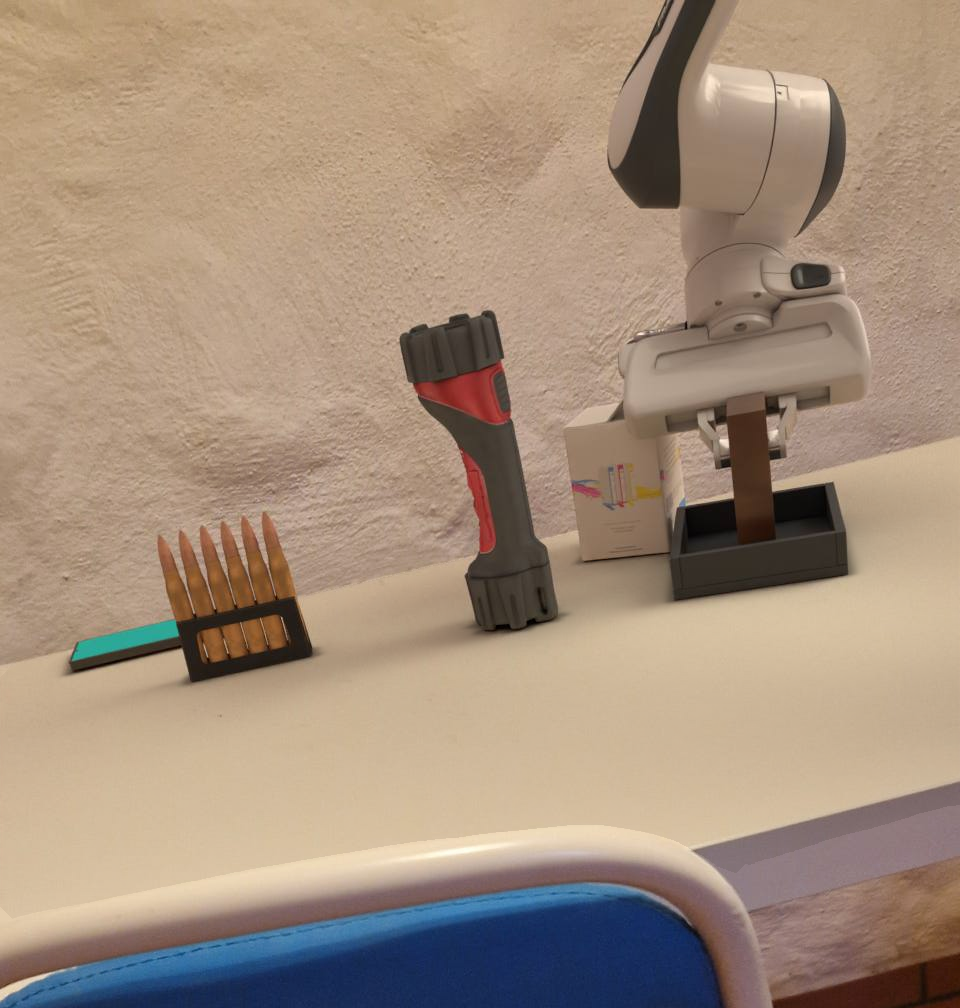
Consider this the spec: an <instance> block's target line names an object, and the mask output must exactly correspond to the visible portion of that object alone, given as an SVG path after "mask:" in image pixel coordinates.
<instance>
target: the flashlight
mask: <svg viewBox="0 0 960 1008" xmlns="http://www.w3.org/2000/svg"><path fill="white" fill-rule="evenodd" d="M398 341H399V346H400V352H401V356H402V361H403V366H404V370H405V374H406V380H407V382H408V383H410V384H412V387H413V389H414V392H415V393H416V394H417V400H418V402H419V403H420V404H421V407H423V409H424V410H425V411H426V412H427V413H428V414H429V415H430V416H431V417H432V418H433V419H434V420H436V421H437V422H438V423H439V424H440V425H442V426H443V427H444V428H445V429H446V430H447V431H448V433H449V434H450V435H451V437H452V438H453V440H454V441H455V443H456V445H457V448H458V450H459V454H460V456H461V462H462V463H463V466H464V469H465V473H466V482H467V487H468V488H469V490H470V491H471V494H472V497H473V503H472V507H473V509H474V511H475V513H476V516H477V518H478V520H479V521H478V526H479V533H478V534H479V537H478V541H479V547H478V553H477V555H476V557H475V558H474V559H473V560H472V561H471V562H470V563H469V564H468V567H467V572H466V573H464V579H465V583H466V587H467V591H468V594H469V598H470V601H471V602H470V603H471V606H472V610H473V615H474V619H475V623H477V624H478V625H480V627H481V628H482V629H483V630H485V631H495V630H496V629H497V625H509V626H510V628H511V629H512V630H517V629H522V628H525V627H527V622H528V621H530V620H533V619H534V620H535V622H536V623H541V622H547V621H551V620H554V618H556V617H557V616H558V614H559V608H558V607H559V606H558V601H557V597H556V591H555V585H554V578H553V572H552V567H551V566H552V565H551V561H550V556H549V550H548V547H547V546H546V544H544V543H543V542H542V541H541V540H539V539H538V537H536V533H535V528H534V523H533V517H532V513H531V507H530V502H529V496H528V491H527V485H526V480H525V475H524V469H523V465H522V460H521V459H522V458H521V454H520V453H521V452H520V449H519V445H518V439H517V434H516V430H515V424H514V421H513V419H512V418H511V417H512V406H511V405H512V402H511V396H510V394H509V393H510V392H509V386H508V381H507V376H506V373H505V369H504V367H503V363H502V360H503V359H504V360H505V353H504V348H503V344H502V338H501V333H500V328H499V323H498V320H497V316H496V313H495V312H494V311H493V310H489V309H485V310H482V311H481V313H480V314H479V315H476V316H474V317H470V315H469V314H468V313H466V312H463V313H459V314H455V315H450V316H449V317H448V322H446V323H443V324H438V325H434V326H432V327H429V326H428V324H427V323H421V324H418V325H415V326H413V327H411V328H410V329H409V330H408V332H407V331H405V332H403V333H401V334H400V336H399V340H398Z"/></svg>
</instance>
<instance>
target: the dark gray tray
mask: <svg viewBox="0 0 960 1008" xmlns="http://www.w3.org/2000/svg"><path fill="white" fill-rule="evenodd" d="M772 494H773V507H774V519H775V532H776V540H771V541H765V542H759V543H752V544H746V545H738V535H737V524H736V514H735V503H734V497H732V498H726V499H719V500H714V501H713V500H712V501H707V502H700V503H694V504H689V505H686V507H685V506H683V507H677V509H676V516H675V524H674V531H673V538H672V546H671V551H670V552H669V553H670V554H669V567H670V575H671V576H670V577H671V584H672V594H673V600H674V601H678V600H685V599H693V598H698V597H704V596H710V595H711V596H712V595H718V594H724V593H731V592H738V591H744V590H751V589H758V588H764V587H771V586H778V585H784V584H793V583H797V582H804V581H805V582H807V581H812V580H819V579H825V578H831V577H833V578H834V577H839V576H845V575H849V562H848V561H849V559H848V558H849V557H848V542H847V541H848V537H847V530H846V525H845V523H844V518H843V514H842V510H841V506H840V501H839V498H838V494H837V490H836V486H835V482H834V481H828V482H825V483H823V482H822V483H816V484H810V485H804V486H798V487H794V488H793V487H792V488H785V489H780V490H774V491H773V490H772Z"/></svg>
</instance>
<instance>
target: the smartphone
mask: <svg viewBox="0 0 960 1008" xmlns="http://www.w3.org/2000/svg"><path fill="white" fill-rule="evenodd" d="M220 630H221V633H222V636H223V632H222V629H221V627H220ZM199 633H200V636H201V639H202V641H203V638H202V635H201V631H200V632H199ZM178 646H182V645H181V641H180V637H179V633H178V630H177V626H176V621H175V618H173V619H169V620H164V621H161V622H156V623H152V624H147V625H143V626H139V627H135V628H130V629H126V630H121V631H118V632H113V633H109V634H104V635H101V636H96V637H91V638H88V639H84V640H79V641H77V642H76V643H75V645H74V648H73V650H72V652H71V655H70V658H69V660H68V664H69V667H70V669H71V671H75V670H76V671H77V670H80V669H84V668H89V667H93V666H97V665H101V664H105V663H109V662H114V661H119V660H123V659H127V658H131V657H135V656H141V655H144V654H148V653H152V652H158V651H162V650H166V649H170V648H174V647H178Z"/></svg>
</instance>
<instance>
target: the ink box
mask: <svg viewBox="0 0 960 1008" xmlns="http://www.w3.org/2000/svg"><path fill="white" fill-rule="evenodd" d="M562 431H563V435H564V436H563V437H564V444H565V449H566V458H567V464H568V471H569V477H570V482H571V483H570V484H571V490H572V498H573V505H574V511H575V518H576V519H575V520H576V527H577V532H578V540H579V546H580V553H581V560H582V561H583V562H587V561H594V560H603V559H614V558H625V557H632V556H633V557H634V556H644V555H652V554H663V553H671V546H672V538H673V531H674V524H675V516H676V509H677V507H683V506H685V507H686V506H687V505H686V495H685V487H684V476H683V468H682V467H683V466H682V459H681V449H680V439H679V433H676V434H670V435H665V436H659V437H654V438H648V439H642V440H639V439H637V438H635V437H634V436H633V435H632V434H631V433H630V432H629V431H628V429H627V425H626V421H625V416H624V408H623V398H622V399H621V400H620V402H615V403H609V404H608V403H607V404H603V405H597V406H595V405H594V406H590V407H586V408H585V409H583V410H582V411H581V412H580V413H579V414H577V415H576V417H574V418H573V419H572V420H571V421H569V422H568V423H567V424H566V425H565V426H564V427H563V428H562Z"/></svg>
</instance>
